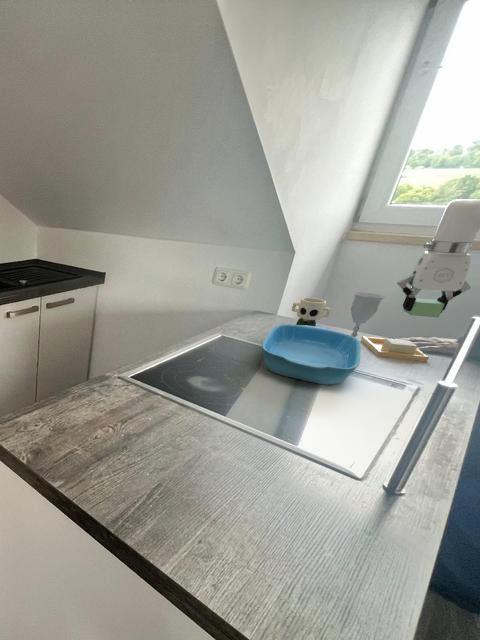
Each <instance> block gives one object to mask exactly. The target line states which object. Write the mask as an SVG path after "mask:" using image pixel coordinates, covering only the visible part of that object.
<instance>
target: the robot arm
mask: <svg viewBox="0 0 480 640" xmlns="http://www.w3.org/2000/svg"><path fill="white" fill-rule="evenodd" d="M479 231H480V198H479V199H475V198H473V199H471V198H470V199H468V198H466V199H463V198H461V199H454V200H452V201H450V202H449V203H448V204H447V205H446V207H445V209H444V212H443V214H442V217H441V219H440V221H439V224H438V225H437V229H436V231H435V234H434V236H433V238H432V240H430V242H425V243H424V244H423V248H424V249H427V251H424V252H423V253H422V255H421V256H420V258H419V259H418V261H417V262H416V264H415V266H414V268H413V269H412V272H411V274H410V275H408V276H407V277H404V278H402V279H400V280H399V281H397V282H396V285H397V286H398V287H399V288H400V290H401V291H402V292H403V293H404V295H405V299H404V300H403V302H402V307H403V310H404V309H405V310H407V311H411V310H412V307H413V305H414V303H415V301H416V296H417V295H418V294H419V293H420V292H421V291H422V290H428V291H440V294H441V296H440V297H438V298H437V299H436V300H437V301H439V302H441V303H443V304H445V305H444V307H443V309H442V311H441V313H440V314H442V313H443V311H445V310H446V308H447V306H448V303H449V302H450V301H452V300H453V299H454V298H456V297H458V296H460V295H461V294H462V293H466V292H467V291H470V290H471V289H472V286H471V285H470V284H469V283H468V281H467V280H466V279H467V277H468V273H469V270H470V268H471V267H470V266H471V263H472V257H473V255H472V253H469V252H470V249H472V248H471V247H472V245H473V243H474V241H475V239H476V236H477V234H478V232H479ZM407 284H408V285H409V286H410V287H408V285H407Z"/></svg>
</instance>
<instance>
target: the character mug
mask: <svg viewBox="0 0 480 640" xmlns="http://www.w3.org/2000/svg"><path fill="white" fill-rule="evenodd" d="M326 305H327V301H326V300H325V299H321V298H315V297H302V298H301V299H300V302H293V303H292V306H291V311H292V312H295V313H296V315H297V317H298V320H297V322H296V323H295V325H307V326H315V327H317V320H320V319H322V317H324V318H329V317H330V316H331V315H330V314H331V312H332V308H330V307H328V306H326ZM297 307H298V308H297ZM324 311H326V313H324Z"/></svg>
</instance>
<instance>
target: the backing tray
mask: <svg viewBox="0 0 480 640" xmlns="http://www.w3.org/2000/svg"><path fill="white" fill-rule="evenodd" d="M384 340H385V338H384V337H373V336H364V335H362V336H361V339H360V341H361V342H362V343H363V344H364V345H365V346H366V347H367V348H368V349H369V350H370V351H371V352H372V353H373V354H374V355H376V357H381V358H390V359H399V360H405V361H406V360H407V361H416V362H424V363H426V362H428V361H429V358H430V356H428V355H427V354H425V353H424V352H423V351H421V350H420V349H419V348H417V349H416V351H415V353H414V355H412V354H403V353H394V352H385V351H382V350H381V348H382V345H383V343H384Z"/></svg>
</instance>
